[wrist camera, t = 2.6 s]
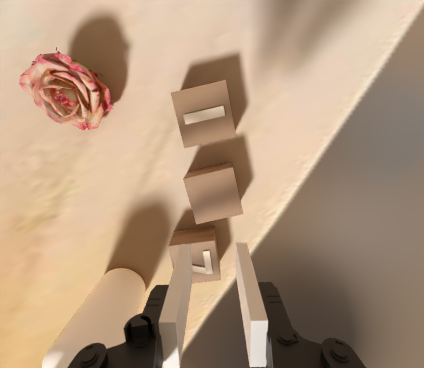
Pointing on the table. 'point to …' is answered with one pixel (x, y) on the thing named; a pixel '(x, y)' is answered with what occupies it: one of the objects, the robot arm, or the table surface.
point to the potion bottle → (99, 317)
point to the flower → (66, 90)
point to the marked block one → (204, 114)
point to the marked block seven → (199, 252)
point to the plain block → (213, 193)
